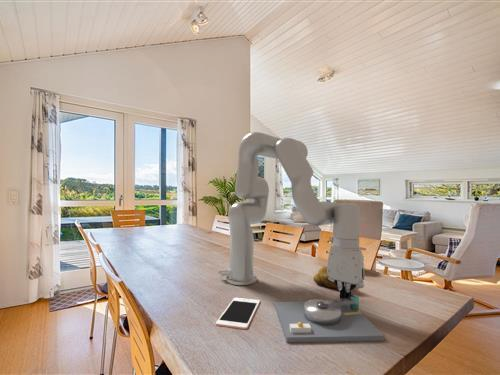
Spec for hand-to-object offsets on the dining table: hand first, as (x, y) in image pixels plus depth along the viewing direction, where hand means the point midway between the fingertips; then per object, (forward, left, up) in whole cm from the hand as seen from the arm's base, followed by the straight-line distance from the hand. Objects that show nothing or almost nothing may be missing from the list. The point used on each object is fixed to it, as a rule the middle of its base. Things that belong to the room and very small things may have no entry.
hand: (345, 303), depth 80 cm
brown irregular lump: (+3, +21, -3) cm, 22 cm away
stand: (-9, -6, -2) cm, 11 cm away
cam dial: (-6, -5, -1) cm, 8 cm away
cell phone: (-32, 0, -3) cm, 32 cm away
